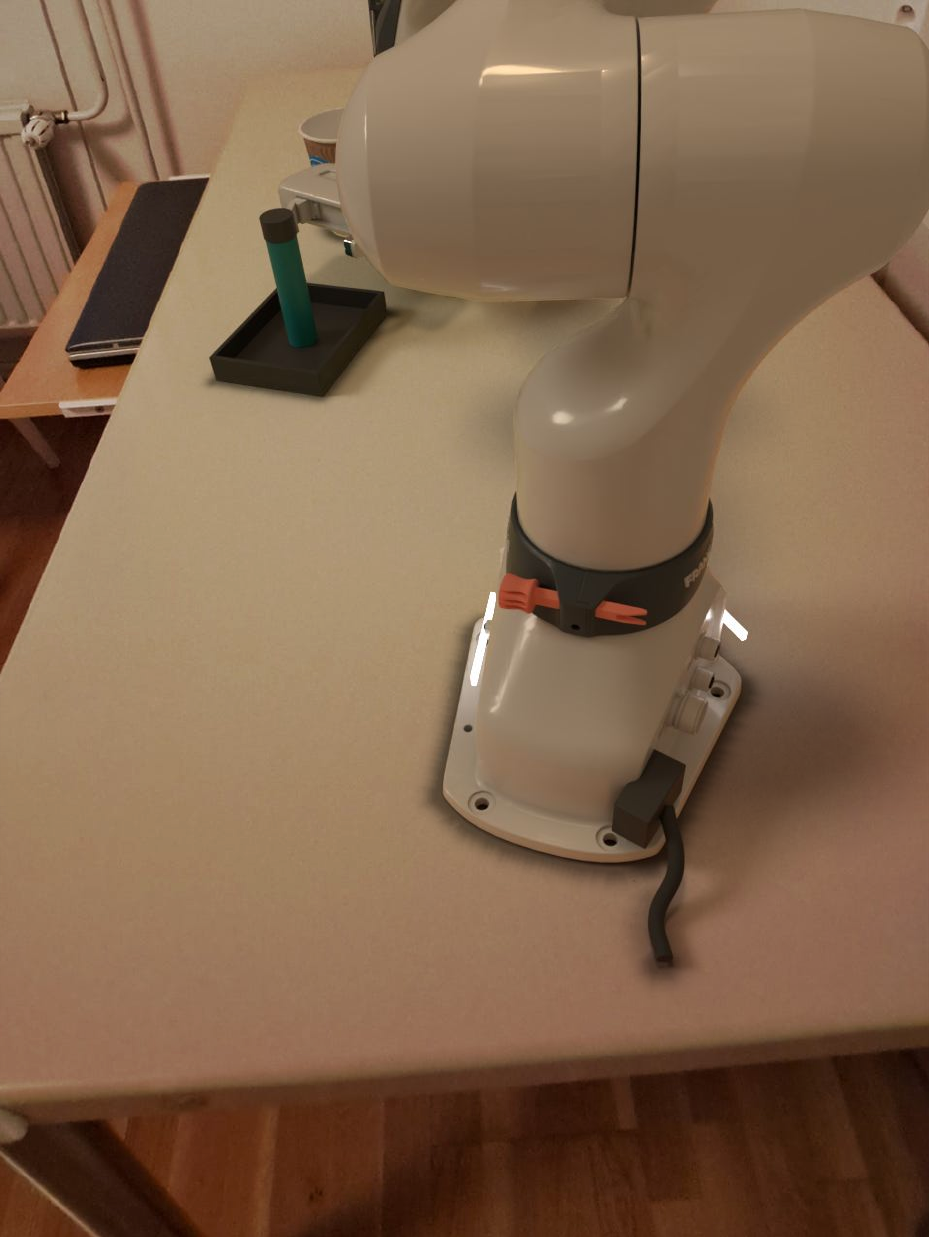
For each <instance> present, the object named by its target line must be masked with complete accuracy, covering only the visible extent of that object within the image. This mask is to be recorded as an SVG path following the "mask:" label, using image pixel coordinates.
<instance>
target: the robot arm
mask: <svg viewBox="0 0 929 1237" xmlns="http://www.w3.org/2000/svg"><path fill="white" fill-rule="evenodd" d="M718 1H719V0H386V2H385V4H384V6H383V8H382V10H381V12H380V14H379V16H378V19H377V24H376V46H377V53H378V55H377V56H375V57H374V56H373V58H372V59H371V60H370V61H369V63H368V64H367V65H366V66H365V68H364V70H362V72H361V74H360V76H359V77H358V79H357V81H355V84H354V86H353V88H352V90H351V92H350V94H349V96H348V98H347V101H346V103H345V106H344V107H345V109H344V112H343V115H342V118H341V121H340V126H339V131H338V136H337V142H336V156H335V163H323V164H318V165H315V166H312V167H311V166H310V167H308V168H305V169H302V170H300V171H297V172H295V173H293V174H291V175H288V176H287V177H285V178H283V179H281V180H280V181H279V183H278V186H277V192H278V197H279V203H280V208H286V209H290V210H291V211H292V212H293V214H294V219H295V224H296V228H297V234H299V233H300V228H299V224H301V225H305V224H307V225H311V226H314V227H318V228H322V229H325V230H328V231H331V232H333V231H334V232H338V233H341V234H344V235H348V236H349V237H346V238H344V240H343V247H344V248H345V249H344V254H345V255H346V256H348V257H352V258H353V259H357V260H360V259H361V258H363V257H364V258H365V260H366V261H367V262H368V263H369V265H370V266H371V267H372V268H373V269H374V270H375V272H376V273H377V274H378V275H380V277H382V279H384V280H385V281H386V282H387V284H390V285H391V286H394V287H399V288H404V289H409V290H413V291H414V290H415V291H419V292H423V293H428V294H433V295H437V296H438V295H439V296H446V297H451V298H456V299H462V300H470V301H476V302H481V303H501V302H503V303H504V302H541V301H572V300H573V301H575V300H604V299H605V300H610V299H623V300H622V301H621V302H620V303H619V304H618V305H617V307H615V308H613V310H612V311H611V312H609V313H608V314H606V315H605V316H604V317H602V318H600V319H599V320H597V321H595V322H594V323H591V324H590V325H588V326H586V327H584V328H582V329H579V330H578V331H576V332H574V333H572V334H571V335H569V336H567V337H565V338H564V339H562V340H560V341H559V342H558V343H556V344H555V345H553V347H551V348H550V349H549V350H548V351H547V352H546V353H545V354H544V355H543V356H542V357H541V358H540V359H539V360H538V362H536V364H535V365H534V366H533V367H532V369H531V370H530V371H529V372H528V374H527V375H526V377H525V378H524V380H523V382H522V384H521V386H520V388H519V390H518V392H517V394H516V398H515V400H514V401H515V402H514V406H513V412H512V418H513V419H512V422H513V425H512V426H513V447H514V448H513V450H514V472H515V473H514V474H515V492H514V494H513V497H512V500H511V505H510V506H511V507H510V511H509V512H510V513H509V517H508V522H507V528H506V539H505V540H506V542H505V546H502V547H500V549H499V560H500V561H499V562H500V572H499V577H498V582H497V586H496V592H492V591H490V594H489V598H488V602H487V606H486V611H485V615H484V616H483V617H481V618H479V619H478V620H477V621H476V622H475V623H474V626H473V630H472V635H471V640H470V645H469V649H468V655H467V659H466V665H465V670H464V674H463V680H462V683H461V684H462V685H461V690H460V695H459V700H458V705H457V709H456V715H455V719H454V725H453V729H452V734H451V739H450V744H449V748H448V749H449V750H448V755H447V760H446V764H445V769H444V776H443V781H442V782H443V783H442V794H443V797H444V799H445V800H446V801H447V802H448V804H449V805H450V806H451V807H452V808H453V809H454V810H455V811H456V812H457V813H458V814H459V815H460V816H462V817H463V818H464V819H465V820H467V821H468V822H470V824H471V823H472V824H473V825H475V826H476V827H478V829H481V830H483V831H485V832H487V833H489V834H491V835H493V836H495V837H498V838H500V839H503V840H505V841H507V842H510V843H511V844H515V845H519V846H521V847H525V848H527V849H530V850H533V851H536V852H541V853H544V854H549V855H552V856H557V857H561V858H566V859H572V860H578V861H583V862H594V863H624V862H626V863H627V862H633V861H639V860H644V859H647V858H651V857H654V856H656V855H657V854H659V853H660V851H661V850H662V848H663V847H664V845H665V844H666V848H667V849H666V850H667V867H666V872H665V875H664V877H663V880H662V881H661V883H660V886H659V887H658V889H657V890H656V892H655V894H654V896H653V897H652V900H651V903H650V905H649V909H648V916H647V929H648V936H649V938H650V942H651V945H652V949H653V951H654V955H655V960H656V962H659V963H667V962H671V961H673V959H674V956H673V955H674V954H673V951H672V947H671V944H670V942H669V939H668V936H667V932H666V925H665V923H666V916H667V911H668V909H669V907H670V904H671V903H672V900H673V899H674V897H675V895H676V894H677V892H678V890H679V888H680V886H681V883H682V881H683V877H684V874H685V864H686V860H685V858H686V856H685V854H686V853H685V846H684V841H683V836H682V833H681V828H680V825H679V822H678V818H679V817H680V814H681V812H682V810H683V808H684V806H685V804H686V803H687V800H688V798H689V796H690V795H691V793H692V791H693V789H694V786H695V785H696V782H697V781H698V778H699V777H700V774H701V773H702V770H703V769H704V767H705V764H706V763H707V760H708V759H709V756H710V755H711V753H712V751H713V749H714V747H715V745H716V743H717V741H718V740H719V737H720V735H721V733H722V731H723V729H724V728H725V725H726V724H727V721H728V719H729V717H730V715H731V714H732V712H733V709H734V708H735V705H736V704H737V701H738V700H739V698H740V695H741V693H742V677H741V675H740V673H739V671H737V669H736V668H735V667H734V666H733V665H732V664H731V663H729V661H727V660H726V659H725V658H724V657H722V656H721V655H720V654H719V652H720V648H721V645H722V641H721V639H722V632H723V626H724V624H725V625H726V627H727V628H729V629H730V630H731V631H732V632H733V633H734V634H735V635H736V637H738V638H739V639H740V640H741V641H745V640H747V636H748V631H747V630H746V629H745V628H744V627H743V626H742V625H741V624H740V623H739V622H738V621H737V620H736V619H735V618H734V617H733V616H732V615H731V614H730V613H729V612H728V611H727V610H726V604H727V598H728V592H727V591H726V589H724V587H723V584H722V583H721V582H720V581H719V580H718V579H717V577H716V576H715V575H714V574H713V572H712V570H711V569H710V567H709V565H708V562H709V556H710V554H711V552H712V547H713V541H714V540H713V539H714V533H715V531H714V529H715V528H714V509H713V503H712V500H711V497H710V496H711V490H712V484H713V479H714V474H715V470H716V466H717V461H718V458H719V453H720V449H721V445H722V441H723V438H724V435H725V431H726V427H727V423H728V420H729V417H730V415H731V412H732V410H733V407H734V405H735V404H736V402H737V400H738V398H739V396H740V394H741V393H742V390H743V389H744V387H745V385H747V383H748V381H749V379H750V378H751V377H752V375H753V374H754V373H755V371H756V370H757V369H758V368H759V366H760V365H761V364H762V362H764V360H765V359H766V358H767V356H768V355H769V354H771V352H772V351H773V350H774V348H775V347H777V345H778V344H779V343H780V342H781V341H782V340H783V339H784V338H785V337H786V336H787V335H789V333H791V331H793V329H794V328H795V327H797V326H798V325H799V324H800V323H801V322H802V321H803V320H805V319H806V318H807V317H808V316H809V315H810V314H812V313H813V312H814V311H815V310H817V309H818V308H819V307H821V306H823V305H824V304H825V303H826V302H828V301H829V300H830V299H832V298H833V297H834V296H836V295H838V294H839V293H841V292H842V291H844V290H845V289H848V288H849V287H851V286H852V285H854V284H855V283H857V282H859V281H861V280H863V279H865V278H867V277H869V276H870V275H872V274H874V273H877V272H878V271H879V270H881V269H883V267H884V266H885V265H887V264H888V263H889V262H890V261H891V260H892V259H893V258H894V257H896V255H897V254H898V253H899V252H900V251H901V250H902V249H903V247H905V245H906V244H907V243H908V242H909V241H910V240H911V238H912V237H913V235H914V234H916V231H917V230H918V228H919V227H920V225H921V224H922V222H923V221H924V219H925V217H926V215H927V214H928V212H929V47H928V46H927V45H926V43H925V42H924V40H923V39H922V38H921V36H920V35H919V34H918V33H917V32H916V31H915V30H914V29H913V28H911V27H908V26H906V25H899V24H895V23H889V22H884V21H880V20H875V19H870V18H865V17H861V16H856V15H849V14H841V13H834V12H826V11H821V10H814V9H807V8H801V7H796V8H778V9H762V10H761V9H760V10H745V11H727V12H726V11H725V12H711V11H712V10H713V8H714V7H715V6H716V4H717V3H718ZM334 232H333V233H334ZM714 695H719V696H718V697H717V696H714ZM480 805H485V806H487V808H485V809H478V807H479V806H480ZM606 840H611V841H614V842H615V844H613V845H609V844H606V843H605V841H606Z"/></svg>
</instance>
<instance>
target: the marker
mask: <svg viewBox="0 0 929 1237" xmlns="http://www.w3.org/2000/svg"><path fill="white" fill-rule="evenodd" d="M258 218H259V223H260V227H261V232H262V236H263V240H264V241H265V245H266V249H267V252H268V257H269V258H268V259H269V262H270V267H271V270H272V275H273V279H274V283H275V289H276V288H277V292H278V296H279V301H280V305H281V309H282V314H283V318H284V322H285V327H286V331H287V335H288V340H289V343H290V345H291V346H293V347H297V348H303V347H308V346H311V345H313V344H314V343H316V342H317V340H318V336H317V331H316V326H315V321H314V316H313V311H312V306H311V302H310V297H309V292H308V287H307V283H308V282H307V278H306V274H305V267H304V262H303V258H302V254H301V249H300V244H299V239H298V233H297V228H296V224H295V219H294V214H293V212H292V211H291V210H290V209H286V208H282V207H276V208H272V209H268V210H265V211H264V212H262V213H261V214H260V215H259V217H258Z"/></svg>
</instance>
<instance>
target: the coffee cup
mask: <svg viewBox="0 0 929 1237" xmlns="http://www.w3.org/2000/svg"><path fill="white" fill-rule="evenodd" d="M344 109H345V106H342V107H336V108H331V109H326V110H322V111H319V112H317V113H315V114H312V115H310V116H308V117H307V118H305V119H304V120H303V121H302V122H301V123H300V124H299V126H298V134H299V135H300V136H301V137H302V138H303V142H304V146H305V149H306V153H307V156H308V160H309V164H310V167H312V166H315V165H318V164H323V163H335V156H336V142H337V136H338V131H339V126H340V121H341V118H342V115H343V112H344ZM332 232H333V234H335V235H336V236H338V237H341V238H344V239H345V238H346V237H349V236H348V235H344V234H341V233H338V232H334V231H332Z"/></svg>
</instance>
